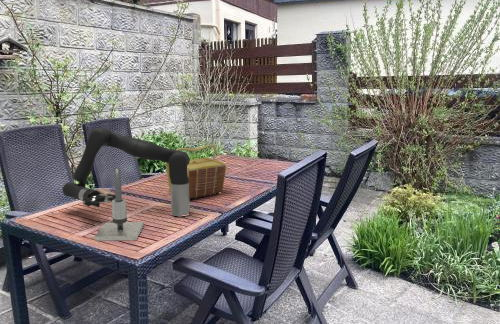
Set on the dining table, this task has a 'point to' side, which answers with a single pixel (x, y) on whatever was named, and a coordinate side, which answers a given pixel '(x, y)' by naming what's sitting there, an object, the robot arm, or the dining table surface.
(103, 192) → the packaged product
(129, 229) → the pipe stand
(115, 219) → the black hex nut
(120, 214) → the metal sleeve
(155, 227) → the dining table surface
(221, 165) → the picnic basket
